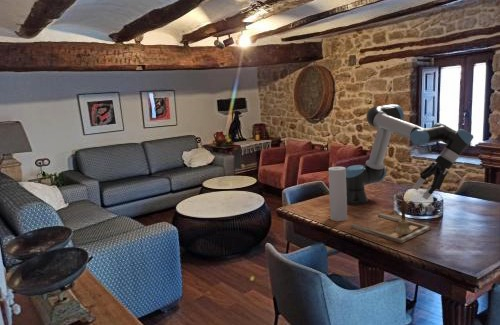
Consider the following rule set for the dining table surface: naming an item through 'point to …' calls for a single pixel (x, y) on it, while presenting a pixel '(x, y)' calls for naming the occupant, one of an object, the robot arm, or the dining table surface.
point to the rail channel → (400, 240)
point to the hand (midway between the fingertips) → (419, 193)
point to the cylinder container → (337, 193)
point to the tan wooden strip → (403, 234)
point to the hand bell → (403, 222)
